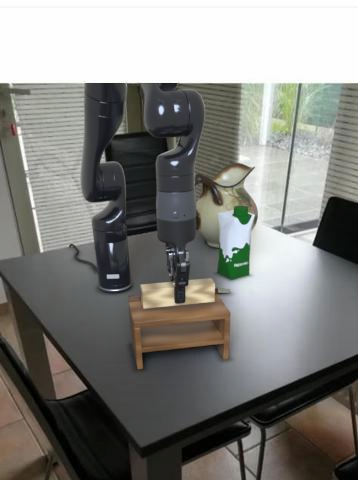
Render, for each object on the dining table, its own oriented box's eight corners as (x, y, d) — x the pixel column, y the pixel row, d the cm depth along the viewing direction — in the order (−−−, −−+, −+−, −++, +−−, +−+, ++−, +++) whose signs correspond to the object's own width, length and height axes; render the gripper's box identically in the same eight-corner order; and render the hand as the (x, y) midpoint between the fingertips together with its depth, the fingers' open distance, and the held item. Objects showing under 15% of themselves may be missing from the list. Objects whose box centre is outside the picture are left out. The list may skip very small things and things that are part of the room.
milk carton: (230, 281, 141) (233, 211, 130) (212, 272, 148) (214, 205, 137) (253, 275, 145) (258, 206, 134) (235, 266, 152) (238, 200, 140)
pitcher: (260, 236, 177) (266, 162, 163) (248, 257, 159) (253, 176, 145) (202, 232, 183) (202, 160, 169) (184, 252, 165) (182, 173, 150)
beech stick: (210, 295, 103) (211, 277, 101) (214, 301, 100) (215, 283, 98) (141, 302, 101) (140, 284, 98) (143, 308, 98) (142, 290, 96)
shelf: (132, 345, 111) (127, 295, 104) (216, 335, 114) (217, 287, 107) (137, 369, 102) (133, 317, 95) (228, 359, 105) (230, 307, 98)
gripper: (204, 222, 85) (203, 311, 95) (188, 203, 97) (188, 284, 106) (162, 225, 84) (166, 315, 94) (151, 206, 96) (155, 288, 105)
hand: (178, 298), depth 100 cm, fingers closed on beech stick, 3 cm apart
